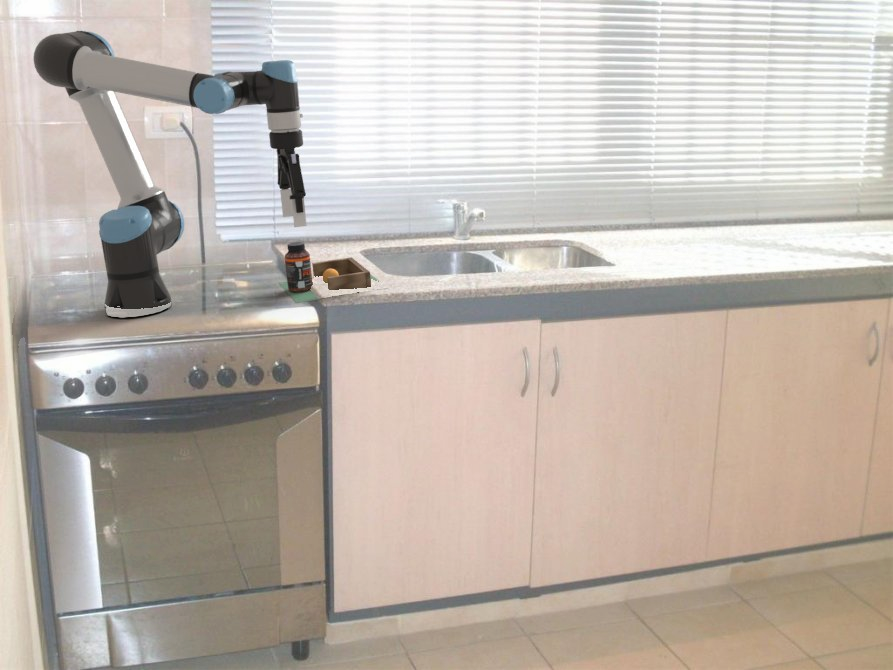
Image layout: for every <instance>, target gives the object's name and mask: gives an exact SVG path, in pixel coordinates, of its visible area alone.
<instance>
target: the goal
mask: <svg viewBox="0 0 893 670" xmlns="http://www.w3.org/2000/svg"><path fill="white" fill-rule="evenodd" d="M311 267H312V272H313V273H312V276H313V277H314V276H315V277H316V276H318V277H319V276H323V273H324V271H326V270H327V269H335V270H336V271H337V272H338V274H339V276H332V277H327V280H328V289H329V290H339V289H354V288H355V289H357V288H367V287H371V278H370V274H371V271H369V270H368V269H366V268H365V267H364V266H363V265H362V264H361V263H359V262H358V261H357V260H355V259H354V258H353V256H350V257H345V258H338V259H331V260H325V261H319V262H318V261H317V262H312V264H311Z"/></svg>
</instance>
